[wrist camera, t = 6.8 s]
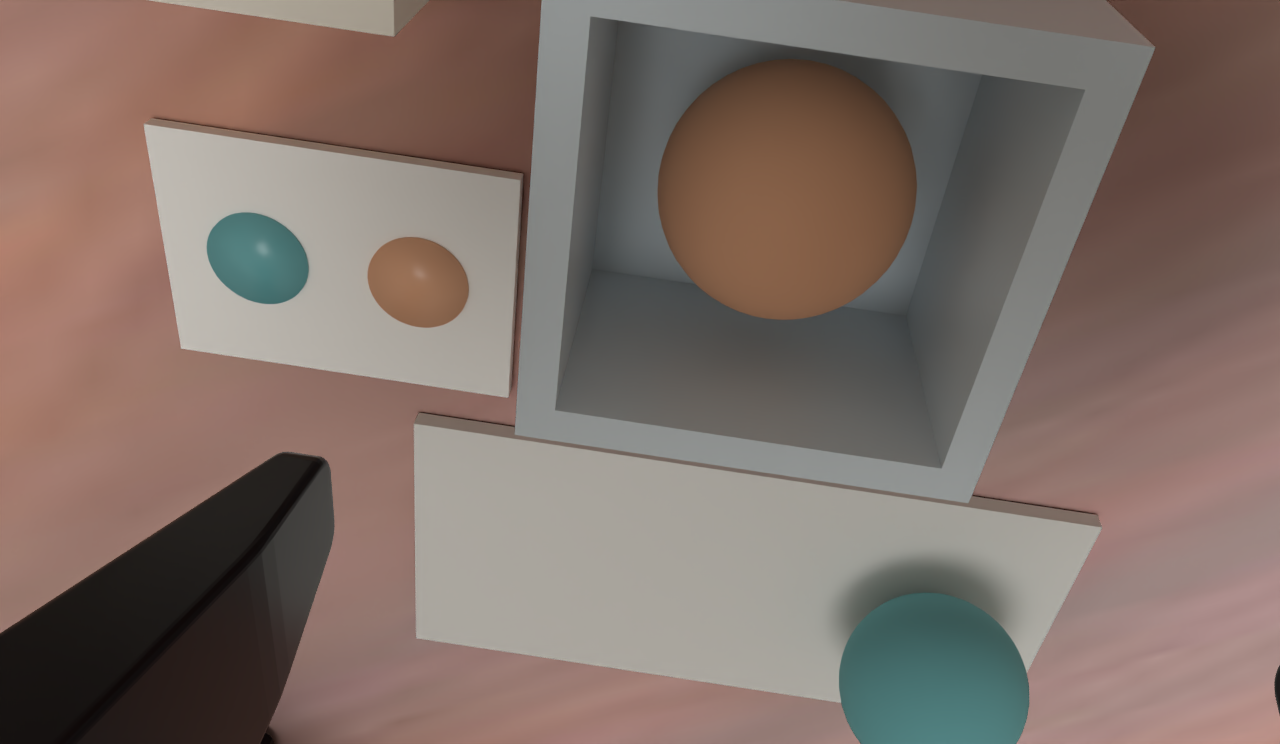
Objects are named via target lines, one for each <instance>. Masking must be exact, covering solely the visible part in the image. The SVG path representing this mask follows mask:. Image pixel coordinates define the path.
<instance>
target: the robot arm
mask: <svg viewBox="0 0 1280 744" xmlns="http://www.w3.org/2000/svg"><path fill="white" fill-rule="evenodd" d="M333 535H334V510H333V497H332V484H331V472H330V467H329V464H328V462H327V461H326V460H325V459H324V458H322V457H320V456H313V455H307V454H300V453H294V452H282V453H279V454H277V455H275V456H273V457H271V458H270V459H268V460H267V461H265V462H264V463H262V464H261V465H259V466H258V467H256V468H255V469H253V470H251V471H250V472H248V473H247V474H245V475H244V476H242V477H241V478H239V479H238V480H236V481H234V482H233V483H231V484H230V485H228V486H227V487H225V488H224V489H222V490H221V491H219V492H218V493H216V494H214V495H213V496H211V497H210V498H208V499H207V500H205V501H204V502H202V503H201V504H199V505H197V506H196V507H194V508H193V509H191V510H190V511H188V512H187V513H185V514H184V515H182V516H180V517H179V518H177V519H176V520H174V521H173V522H171V523H170V524H168V525H167V526H165V527H164V528H162V529H160V530H159V531H157V532H156V533H154V534H153V535H151V536H150V537H148V538H147V539H145V540H143V541H142V542H140V543H139V544H137V545H136V546H134V547H133V548H131V549H130V550H128V551H126V552H125V553H123V554H122V555H120V556H119V557H117V558H116V559H114V560H113V561H111V562H110V563H108V564H106V565H105V566H103V567H102V568H100V569H99V570H97V571H96V572H94V573H93V574H91V575H89V576H88V577H86V578H85V579H83V580H82V581H80V582H79V583H77V584H76V585H74V586H73V587H71V588H69V589H68V590H66V591H65V592H63V593H62V594H60V595H59V596H57V597H56V598H54V599H52V600H51V601H49V602H48V603H46V604H45V605H43V606H42V607H40V608H39V609H37V610H35V611H34V612H32V613H31V614H29V615H28V616H26V617H25V618H23V619H22V620H20V621H19V622H17V623H15V624H14V625H12V626H11V627H9V628H8V629H6V630H5V631H3V632H2V633H0V744H274V741H273V739H272V737H271V736H270V735H269V734H267V733H265V732H266V730H267V728H268V725H269V723H270V721H271V719H272V716H273V714H274V712H275V710H276V707H277V705H278V703H279V700H280V698H281V695H282V693H283V690H284V687H285V684H286V681H287V678H288V676H289V673H290V670H291V667H292V664H293V661H294V658H295V655H296V652H297V649H298V646H299V643H300V640H301V637H302V634H303V631H304V628H305V625H306V622H307V619H308V616H309V613H310V610H311V607H312V604H313V601H314V598H315V594H316V591H317V588H318V585H319V582H320V579H321V576H322V573H323V570H324V567H325V564H326V561H327V558H328V555H329V552H330V549H331V545H332V541H333ZM1275 697H1276V701H1277V705H1278V710H1279V714H1280V666H1279V667H1278V670H1277V673H1276V677H1275Z"/></svg>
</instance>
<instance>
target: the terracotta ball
mask: <svg viewBox="0 0 1280 744" xmlns="http://www.w3.org/2000/svg"><path fill="white" fill-rule="evenodd" d="M916 193H917V178H916V168H915V163H914V158H913V153H912V149H911V146H910V143H909V141H908V138H907V135H906V133H905V131H904V129H903V127H902V126H901V124H900V122H899V120H898V118H897V117H896V115H895V113H894V112H893V111H892V109H891V108H890V107H889V106H888V104H887V103H886V102H885V100H884V99H882V98H881V97H880V96H879V95H878V94H877V93H876V92H875V91H874V90H873V89H872V88H870V87H869V86H868V85H866V84H865V83H863V82H862V81H861V80H859V79H858V78H856V77H855V76H853V75H851V74H849V73H847V72H845V71H843V70H842V69H839V68H836V67H833V66H831V65H828V64H825V63H820V62H815V61H811V60H801V59H780V60H771V61H766V62H760V63H756V64H753V65H750V66H747V67H744V68H741V69H739V70H737V71H735V72H733V73H731V74H728V75H726V76H725V77H723V78H722V79H720V80H719V81H717V82H715V83H714V84H712V85H711V86H710V87H709V88H708V89H706V90H705V91H704V92H703V93H702V94H700V95H699V96H698V98H697V99H696V100H695V101H694V102H693V103H692V104H691V105H690V106H689V107H688V109H687V110H686V111H685V112H684V114H683V115H682V117H681V118H680V120H679V121H678V122H677V124H676V126H675V128H674V130H673V131H672V133H671V135H670V137H669V140H668V142H667V145H666V148H665V151H664V154H663V157H662V160H661V165H660V170H659V175H658V209H659V215H660V220H661V225H662V228H663V231H664V234H665V237H666V240H667V242H668V245H669V247H670V249H671V251H672V253H673V255H674V257H675V259H676V260H677V262H678V263H679V264H680V266H681V267H682V268H683V270H684V271H685V273H686V274H687V275H688V276H689V278H690V279H691V280H692V281H693V282H694V283H695V284H696V285H697V286H698V287H699V288H700V289H702V290H703V291H704V292H705V293H707V294H708V295H709V296H711V297H712V298H714V299H715V300H717V301H719V302H720V303H722V304H724V305H725V306H728V307H730V308H732V309H734V310H736V311H738V312H741V313H745V314H748V315H751V316H755V317H760V318H765V319H776V320H793V319H802V318H809V317H813V316H817V315H821V314H824V313H827V312H830V311H832V310H835V309H837V308H839V307H841V306H843V305H845V304H847V303H849V302H851V301H852V300H854V299H855V298H857V297H858V296H860V295H861V294H863V293H864V292H865V291H866V290H867V289H869V288H870V287H871V286H872V285H873V284H874V283H876V282H877V281H878V280H879V278H880V277H881V276H882V275H883V274H884V273H885V272H886V271H887V270H888V268H889V267H890V266H891V264H892V263H893V261H894V260H895V259H896V257H897V255H898V253H899V251H900V249H901V248H902V246H903V244H904V242H905V240H906V237H907V235H908V232H909V229H910V227H911V224H912V220H913V215H914V211H915V204H916Z"/></svg>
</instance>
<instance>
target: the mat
mask: <svg viewBox="0 0 1280 744" xmlns="http://www.w3.org/2000/svg"><path fill="white" fill-rule="evenodd" d="M414 488H415V585H416V638H418V639H425V640H431V641H438V642H445V643H451V644H458V645H464V646H471V647H477V648H484V649H491V650H497V651H504V652H510V653H517V654H523V655H530V656H537V657H543V658H550V659H556V660H563V661H569V662H576V663H582V664H589V665H596V666H602V667H609V668H615V669H622V670H628V671H635V672H642V673H648V674H655V675H661V676H668V677H674V678H681V679H687V680H694V681H701V682H707V683H714V684H720V685H727V686H733V687H740V688H747V689H753V690H760V691H766V692H773V693H779V694H786V695H793V696H799V697H806V698H812V699H819V700H825V701H832V702H838V703H841V698H840V691H839V669H840V663H841V659H842V655H843V652H844V649H845V646H846V644H847V642H848V639H849V638H850V636H851V634H852V633H853V631H854V629H855V628H856V627H857V625H858V624H859V623H860V622H861V621H862V620H863V619H864V618H865V617H866V616H867V615H868V614H869V613H870V612H871V611H872V610H874V609H875V608H877V607H879V606H880V605H882V604H883V603H885V602H887V601H889V600H891V599H894V598H897V597H900V596H903V595H907V594H913V593H940V594H945V595H950V596H953V597H956V598H959V599H962V600H965V601H967V602H969V603H971V604H973V605H975V606H976V607H978V608H980V609H982V610H983V611H985V612H986V613H987V614H989V615H990V616H991V617H992V618H993V619H994V620H996V621H997V622H998V623H999V624H1000V625H1001V626H1002V627H1003V629H1004V630H1005V631H1006V632H1007V634H1008V635H1009V636H1010V638H1011V639H1012V641H1013V642H1014V644H1015V646H1016V647H1017V649H1018V651H1019V653H1020V655H1021V658H1022V660H1023V663H1024V666H1025V669H1026V673H1027V671H1028V669H1029V668H1030V666H1031V664H1032V662H1033V660H1034V658H1035V656H1036V654H1037V652H1038V650H1039V648H1040V646H1041V645H1042V643H1043V641H1044V639H1045V637H1046V635H1047V633H1048V631H1049V629H1050V627H1051V625H1052V623H1053V622H1054V620H1055V618H1056V616H1057V614H1058V612H1059V610H1060V608H1061V606H1062V604H1063V602H1064V600H1065V598H1066V597H1067V595H1068V593H1069V591H1070V589H1071V587H1072V585H1073V583H1074V581H1075V579H1076V577H1077V575H1078V574H1079V572H1080V570H1081V568H1082V566H1083V564H1084V562H1085V560H1086V558H1087V556H1088V554H1089V552H1090V551H1091V549H1092V547H1093V545H1094V543H1095V541H1096V539H1097V537H1098V535H1099V533H1100V531H1101V529H1102V525H1101V523H1100V520H1099V518H1098V515H1094V514H1087V513H1081V512H1074V511H1068V510H1061V509H1054V508H1048V507H1041V506H1034V505H1028V504H1021V503H1015V502H1008V501H1001V500H995V499H988V498H981V497H975V496H971V499H970V501H969V503H963V502H956V501H949V500H943V499H936V498H930V497H923V496H916V495H910V494H903V493H896V492H890V491H883V490H877V489H870V488H863V487H857V486H850V485H844V484H837V483H830V482H824V481H817V480H810V479H804V478H797V477H791V476H784V475H777V474H771V473H764V472H757V471H751V470H744V469H738V468H731V467H724V466H718V465H711V464H704V463H698V462H691V461H685V460H678V459H671V458H665V457H658V456H651V455H645V454H638V453H632V452H625V451H618V450H612V449H605V448H598V447H592V446H585V445H579V444H572V443H565V442H559V441H552V440H546V439H539V438H532V437H526V436H519V435H515V427H511V426H505V425H498V424H491V423H485V422H478V421H471V420H465V419H458V418H452V417H445V416H438V415H432V414H425V413H418V415H417V418H416V420H415V422H414Z"/></svg>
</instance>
